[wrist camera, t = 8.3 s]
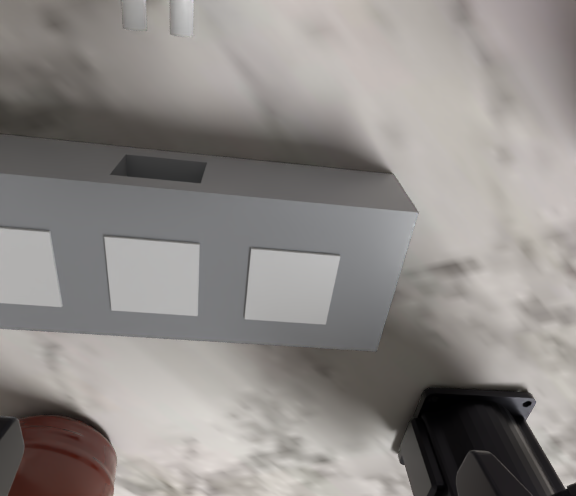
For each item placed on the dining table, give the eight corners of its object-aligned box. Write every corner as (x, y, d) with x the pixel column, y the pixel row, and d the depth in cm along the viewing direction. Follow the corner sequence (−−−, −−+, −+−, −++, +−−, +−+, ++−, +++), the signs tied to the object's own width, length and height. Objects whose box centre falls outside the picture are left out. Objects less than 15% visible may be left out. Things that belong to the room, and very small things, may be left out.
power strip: (393, 174, 18) (424, 220, 15) (361, 299, 22) (379, 362, 18) (-243, 108, 16) (-384, 146, 13) (-171, 261, 19) (-267, 324, 16)
